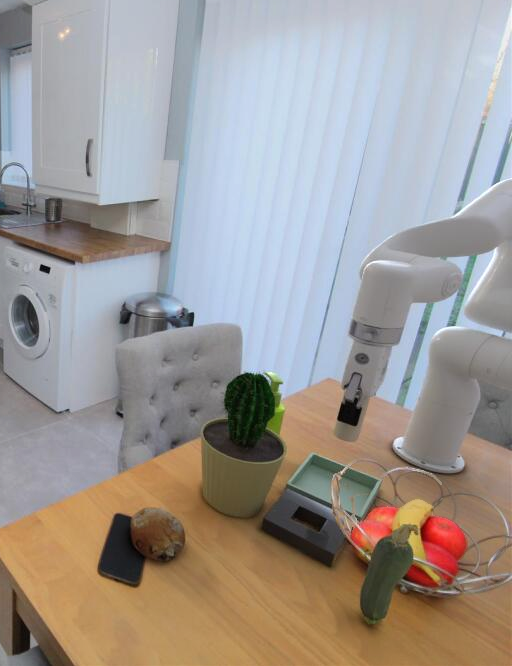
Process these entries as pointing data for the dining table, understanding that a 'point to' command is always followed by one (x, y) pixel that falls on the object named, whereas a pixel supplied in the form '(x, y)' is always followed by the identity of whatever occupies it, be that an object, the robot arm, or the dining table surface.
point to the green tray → (317, 484)
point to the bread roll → (157, 534)
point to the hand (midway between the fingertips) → (350, 417)
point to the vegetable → (386, 572)
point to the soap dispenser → (280, 407)
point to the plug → (349, 431)
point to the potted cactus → (241, 448)
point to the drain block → (300, 536)
